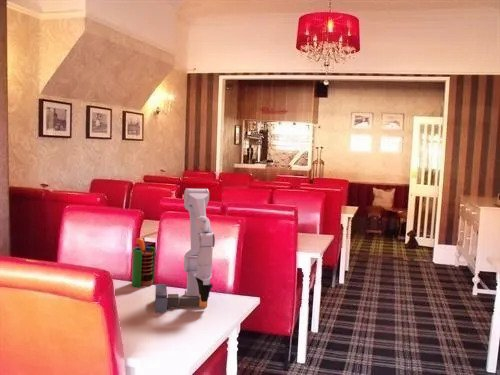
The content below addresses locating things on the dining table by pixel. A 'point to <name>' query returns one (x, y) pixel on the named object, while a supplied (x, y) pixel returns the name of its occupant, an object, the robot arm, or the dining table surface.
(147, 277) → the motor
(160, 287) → the housing
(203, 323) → the dining table surface
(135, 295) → the dining table surface
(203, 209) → the robot arm
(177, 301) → the plug
